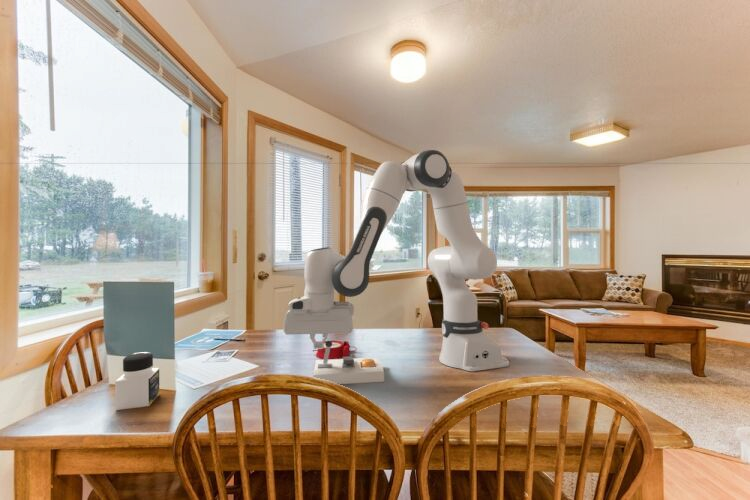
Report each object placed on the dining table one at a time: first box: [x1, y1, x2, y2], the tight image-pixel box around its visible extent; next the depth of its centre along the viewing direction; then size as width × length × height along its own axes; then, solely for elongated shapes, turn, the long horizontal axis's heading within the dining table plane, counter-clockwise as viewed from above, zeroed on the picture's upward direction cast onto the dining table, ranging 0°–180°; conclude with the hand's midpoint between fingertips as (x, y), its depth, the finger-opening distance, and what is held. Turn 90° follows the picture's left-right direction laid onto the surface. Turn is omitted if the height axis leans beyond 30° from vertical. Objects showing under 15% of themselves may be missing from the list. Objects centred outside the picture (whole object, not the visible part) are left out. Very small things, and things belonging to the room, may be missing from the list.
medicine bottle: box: [114, 351, 160, 411], centre depth 81 cm, size 7×7×12 cm
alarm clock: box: [312, 340, 358, 360], centre depth 116 cm, size 10×6×15 cm
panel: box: [312, 356, 385, 385], centre depth 97 cm, size 20×12×3 cm, turn 97°
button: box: [362, 359, 374, 368], centre depth 98 cm, size 4×4×4 cm
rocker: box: [342, 355, 354, 364], centre depth 97 cm, size 3×7×1 cm, turn 7°
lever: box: [323, 340, 332, 364], centre depth 96 cm, size 2×2×7 cm
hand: (318, 348), depth 96 cm, fingers closed
